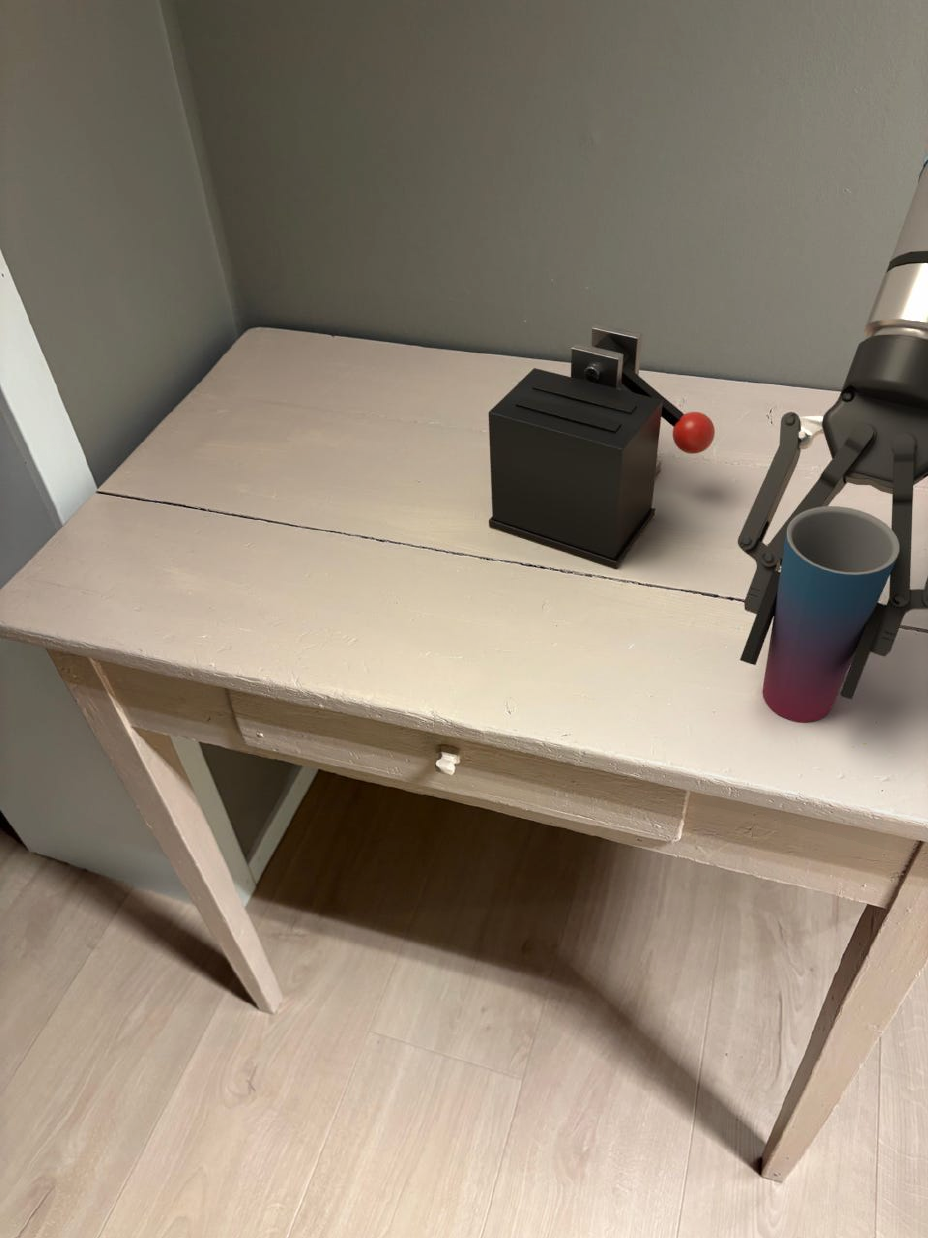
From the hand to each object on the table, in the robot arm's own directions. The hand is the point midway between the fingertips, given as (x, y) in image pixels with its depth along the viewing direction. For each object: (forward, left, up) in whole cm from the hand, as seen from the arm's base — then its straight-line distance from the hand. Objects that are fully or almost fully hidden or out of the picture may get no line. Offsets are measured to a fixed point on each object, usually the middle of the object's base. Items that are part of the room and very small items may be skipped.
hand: (796, 679), depth 65 cm
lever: (+21, -23, +2) cm, 31 cm away
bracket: (+25, -23, -5) cm, 34 cm away
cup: (0, -4, -6) cm, 7 cm away
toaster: (+24, -15, -5) cm, 29 cm away
